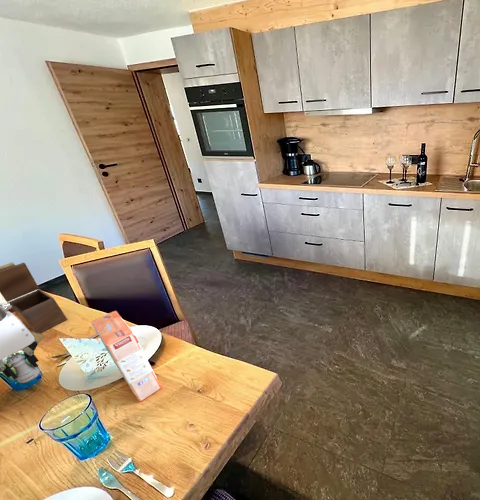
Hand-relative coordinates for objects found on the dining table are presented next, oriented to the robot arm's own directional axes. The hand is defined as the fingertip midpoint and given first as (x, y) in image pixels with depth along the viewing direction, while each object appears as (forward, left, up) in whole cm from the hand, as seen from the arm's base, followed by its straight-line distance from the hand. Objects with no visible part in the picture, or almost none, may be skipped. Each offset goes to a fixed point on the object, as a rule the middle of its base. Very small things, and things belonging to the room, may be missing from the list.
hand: (24, 370), depth 78 cm
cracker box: (+25, -14, -7) cm, 30 cm away
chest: (-6, +36, -7) cm, 38 cm away
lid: (-8, +40, +9) cm, 41 cm away
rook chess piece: (0, 0, -3) cm, 3 cm away
